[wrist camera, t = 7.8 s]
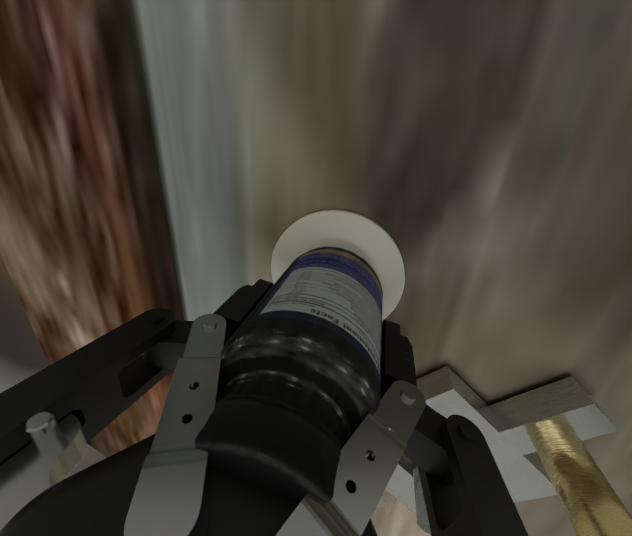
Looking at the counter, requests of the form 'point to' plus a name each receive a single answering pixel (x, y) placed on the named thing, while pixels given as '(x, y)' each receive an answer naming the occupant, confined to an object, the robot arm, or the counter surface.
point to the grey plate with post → (533, 448)
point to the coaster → (345, 247)
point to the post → (420, 501)
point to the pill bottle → (300, 376)
